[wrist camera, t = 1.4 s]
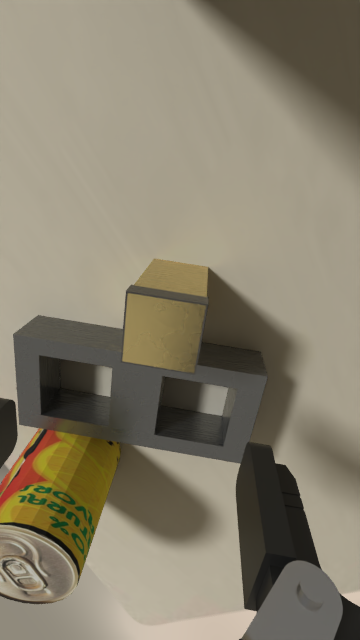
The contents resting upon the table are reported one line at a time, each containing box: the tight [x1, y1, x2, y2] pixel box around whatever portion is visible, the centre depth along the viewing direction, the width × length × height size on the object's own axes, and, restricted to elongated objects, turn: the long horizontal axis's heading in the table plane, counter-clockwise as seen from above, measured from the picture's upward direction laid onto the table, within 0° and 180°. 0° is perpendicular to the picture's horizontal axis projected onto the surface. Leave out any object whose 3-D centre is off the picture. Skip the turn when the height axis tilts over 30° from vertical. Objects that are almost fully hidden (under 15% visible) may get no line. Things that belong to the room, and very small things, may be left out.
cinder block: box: [13, 315, 268, 464], centre depth 29 cm, size 9×20×4 cm, turn 82°
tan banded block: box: [121, 259, 209, 375], centre depth 23 cm, size 5×5×9 cm
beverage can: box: [0, 428, 121, 604], centre depth 30 cm, size 9×9×12 cm
